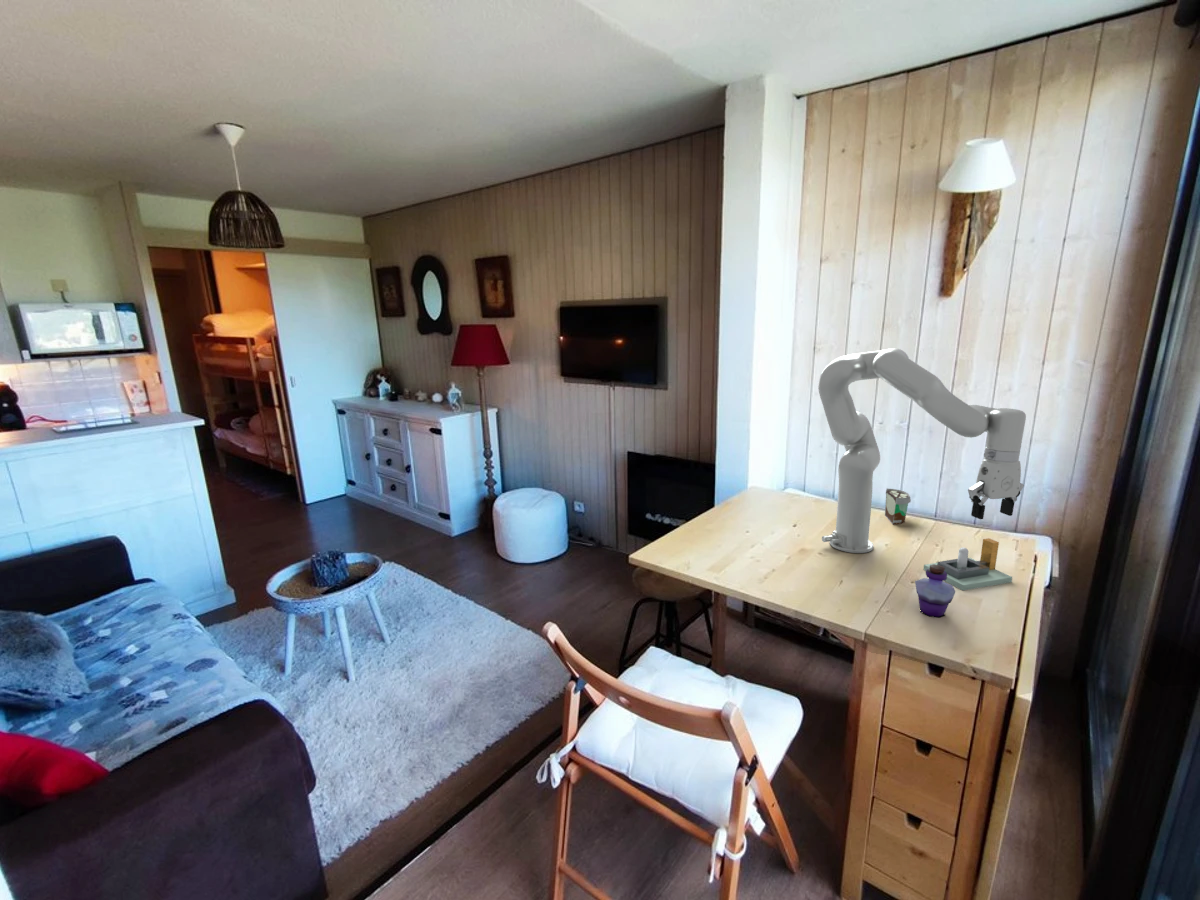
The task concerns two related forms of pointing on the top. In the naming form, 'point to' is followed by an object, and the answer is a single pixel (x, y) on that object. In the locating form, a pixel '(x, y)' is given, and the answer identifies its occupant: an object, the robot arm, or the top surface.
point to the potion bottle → (934, 592)
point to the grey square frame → (974, 562)
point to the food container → (896, 506)
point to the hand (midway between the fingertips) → (991, 515)
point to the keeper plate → (974, 582)
